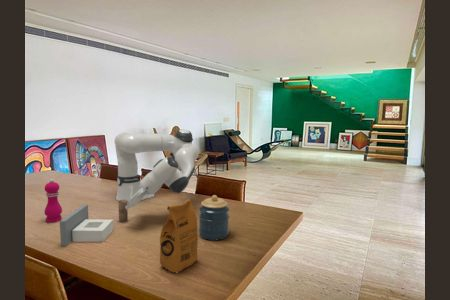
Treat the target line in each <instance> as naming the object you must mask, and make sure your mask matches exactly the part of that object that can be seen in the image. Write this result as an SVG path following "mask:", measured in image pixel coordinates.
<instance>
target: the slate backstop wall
mask: <svg viewBox="0 0 450 300" xmlns="http://www.w3.org/2000/svg"><path fill="white" fill-rule="evenodd" d="M85 219H89V204H82V205H81V206H79V207H78V208H77V209H75V210H74V211H73V212H71V213H70V214H68V215H66V216H65V217H64V218H63V219H62V218H61V220H60V221H59V229H60V230H59V231H60V232H59V233H60V246H61V247H67V246H68V245H69V244H70V243H71V242H73V238H72V230H73V229H74V228H76V227H77V226H78V225H79V224H81V223H82V222H83V221H84V220H85Z"/></svg>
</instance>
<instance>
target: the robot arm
mask: <svg viewBox="0 0 450 300" xmlns="http://www.w3.org/2000/svg"><path fill="white" fill-rule="evenodd" d="M193 141H194V138H193V133H192V132H191V131H190V130H188V129H184V128H183V129H177V130H176V132H175V135H173V134H167V133H138V134H137V133H127V132H120V133H118V134H117V135H116V136H115V138H114V146H115V153H116V154H115V155H116V160H117V175H116V176H117V179H116V180H117V181H116V183H117V193H116V197H115V200H116V201H119V200H127V205H126V206H125V208H126V209H127V210H129V209H130V208H132V207H135V206H137V205H138V203H140V201H143V200H148V199H151V198H154V197H155V193H156V192H157V191H159V190H160V189H161V188H162V187H163V185H166V187H168V188H169V190H170V191H171V192H172V193H173V194H181V193H182V192H184V191H185V189H186V188H188V185H189V182H190V180H191V178H192V176H193V174H194V172H195V169H196V165H195V161H196V160H197V159H198V158H199V155H200V151H199V148H198V147H197V145H195V144H193ZM166 151H168V152H171V153H169V156H167V157H164V158H162V159H159V160H158V161H157V162H156V163H155V164H154V165H153V167H152V170H151V171H150V172H148V173H147V174H145V176H144V175H142V174H141V175H140V174H139V171H138V169H139V167H138V160H137V157H136V156H137V155H136V154H140V153H147V152H166Z"/></svg>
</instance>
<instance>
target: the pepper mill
mask: <svg viewBox="0 0 450 300" xmlns="http://www.w3.org/2000/svg"><path fill="white" fill-rule="evenodd" d="M44 191H45V192H46V197H47V204H46V206H45V208H44V216H46V217H45V222H46V223H57V222H60V221H61V220H62V215H61V214H62V212H63V209H62V208H63V207H62V206H61V204H60V202H59V200H58V197H59V191H60V184H59V183H57V182H56V181H55V179H53V178H51V179H49V182H47V183H46V184H45V185H44Z"/></svg>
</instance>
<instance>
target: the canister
mask: <svg viewBox="0 0 450 300" xmlns="http://www.w3.org/2000/svg"><path fill="white" fill-rule="evenodd" d="M228 205H229V204H228V202H227V200H224V199H223V198H221V197H218V196H217V195H216V194H213V195H212V196H211V197H209V198H205V199H204V200H202V201H201V205H200V206H199V211H200V213H199V216H198V218H199V220H198V221H199V225H198V234H200V235H199V236H200V238H202V239H204V238H205V239H204V240H206V239H210V240H209V241H217V240H216V239H221V240H223V239H222V238H224V239H226V238H227V237H228V236H227V235H229V232H230V229H229V219H230V215H229V211H230V208H229V206H228ZM226 236H227V237H226ZM225 237H226V238H225Z"/></svg>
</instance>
